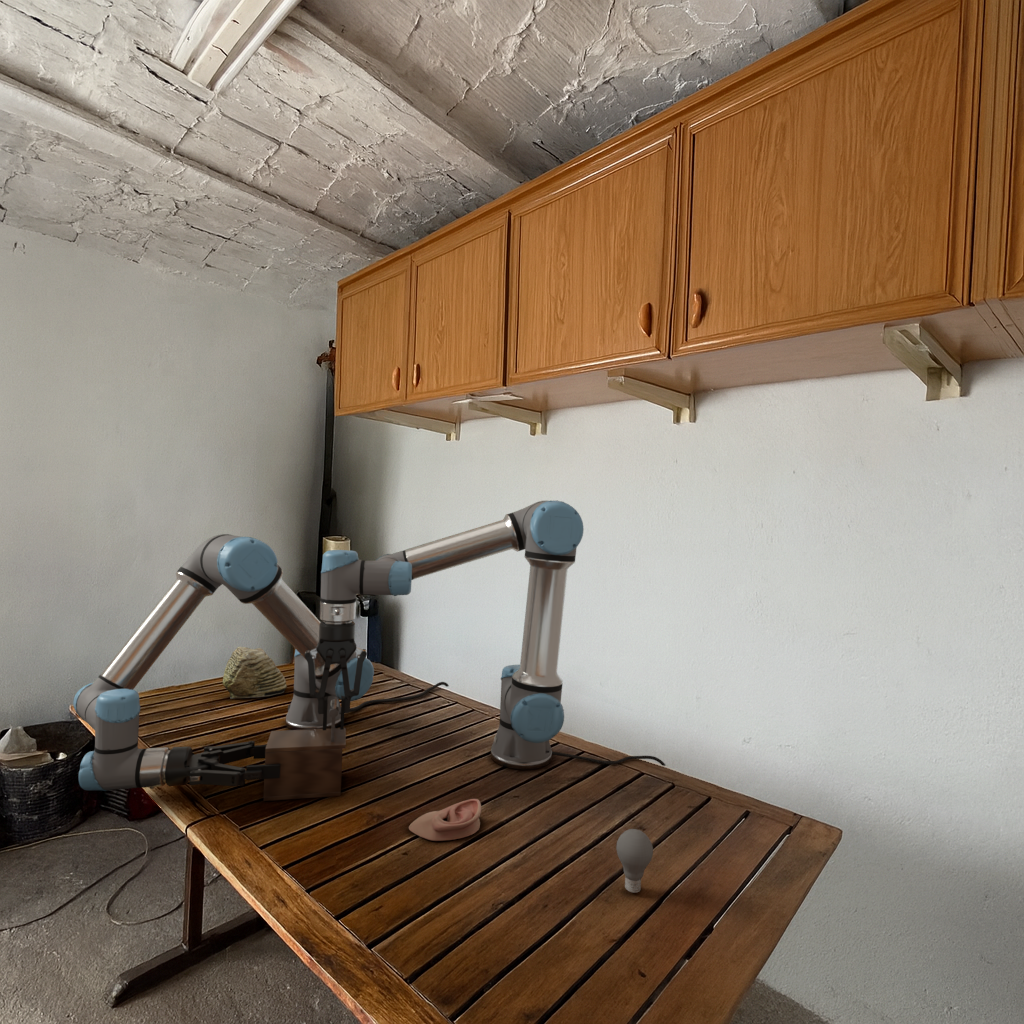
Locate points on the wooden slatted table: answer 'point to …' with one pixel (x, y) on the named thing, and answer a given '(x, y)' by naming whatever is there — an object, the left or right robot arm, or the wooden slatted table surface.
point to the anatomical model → (449, 822)
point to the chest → (304, 774)
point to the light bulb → (634, 857)
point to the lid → (309, 737)
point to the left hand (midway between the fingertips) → (282, 760)
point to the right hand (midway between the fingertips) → (333, 727)
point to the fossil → (252, 674)
